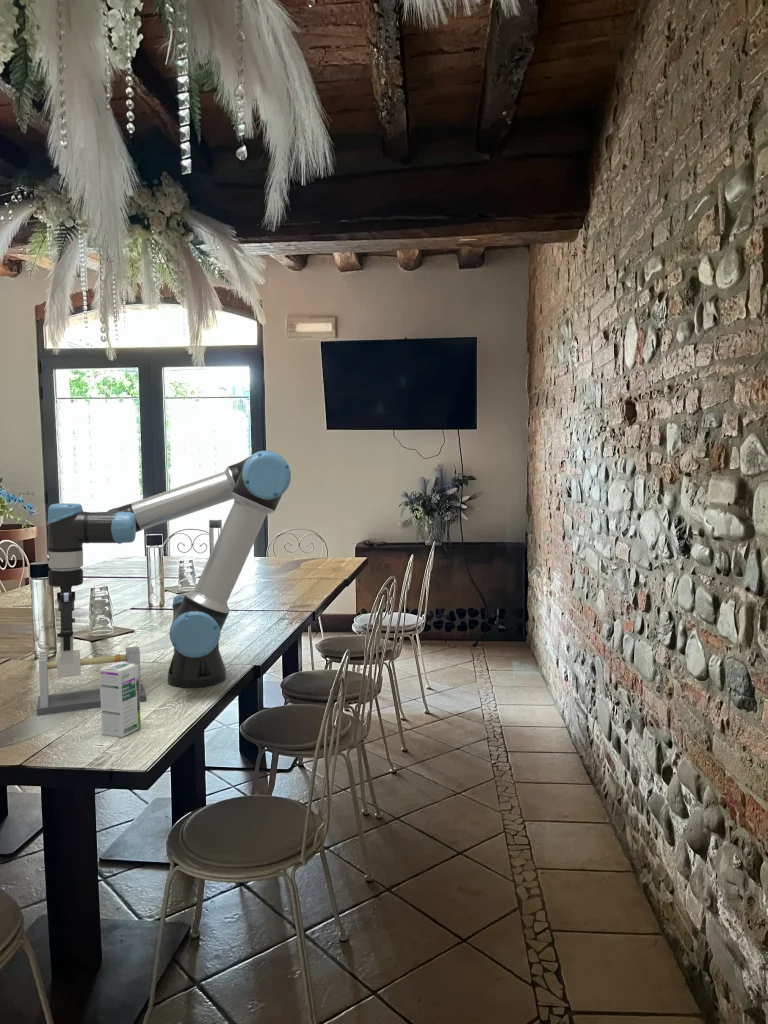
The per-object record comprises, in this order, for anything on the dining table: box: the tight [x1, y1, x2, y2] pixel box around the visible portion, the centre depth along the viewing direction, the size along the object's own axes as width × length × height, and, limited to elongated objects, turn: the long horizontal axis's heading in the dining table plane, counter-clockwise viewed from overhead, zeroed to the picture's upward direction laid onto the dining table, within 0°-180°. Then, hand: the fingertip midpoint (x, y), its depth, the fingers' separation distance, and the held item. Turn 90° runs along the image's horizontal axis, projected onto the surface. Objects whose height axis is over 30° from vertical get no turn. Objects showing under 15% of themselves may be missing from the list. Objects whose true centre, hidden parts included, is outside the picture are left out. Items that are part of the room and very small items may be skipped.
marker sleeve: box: [56, 649, 82, 679], centre depth 170 cm, size 5×5×5 cm
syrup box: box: [98, 661, 142, 738], centre depth 152 cm, size 6×6×14 cm
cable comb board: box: [36, 646, 147, 716], centre depth 172 cm, size 24×10×12 cm, turn 114°
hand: (66, 656), depth 170 cm, fingers open, 13 cm apart
